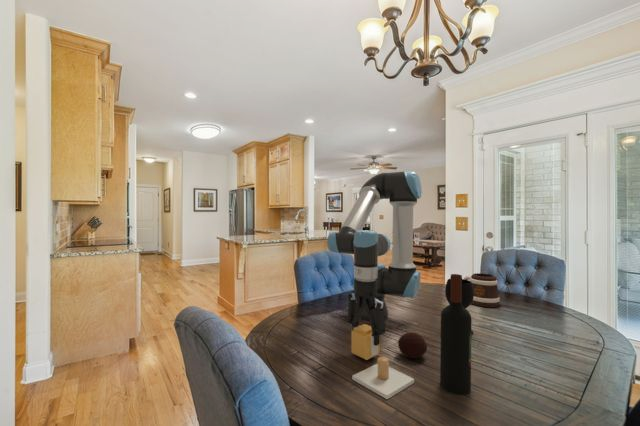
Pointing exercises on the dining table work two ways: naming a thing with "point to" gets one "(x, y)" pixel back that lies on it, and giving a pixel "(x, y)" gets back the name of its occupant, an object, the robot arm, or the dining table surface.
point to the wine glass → (466, 293)
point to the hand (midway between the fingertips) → (365, 350)
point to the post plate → (383, 385)
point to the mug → (484, 290)
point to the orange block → (362, 342)
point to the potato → (412, 345)
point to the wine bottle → (455, 343)
